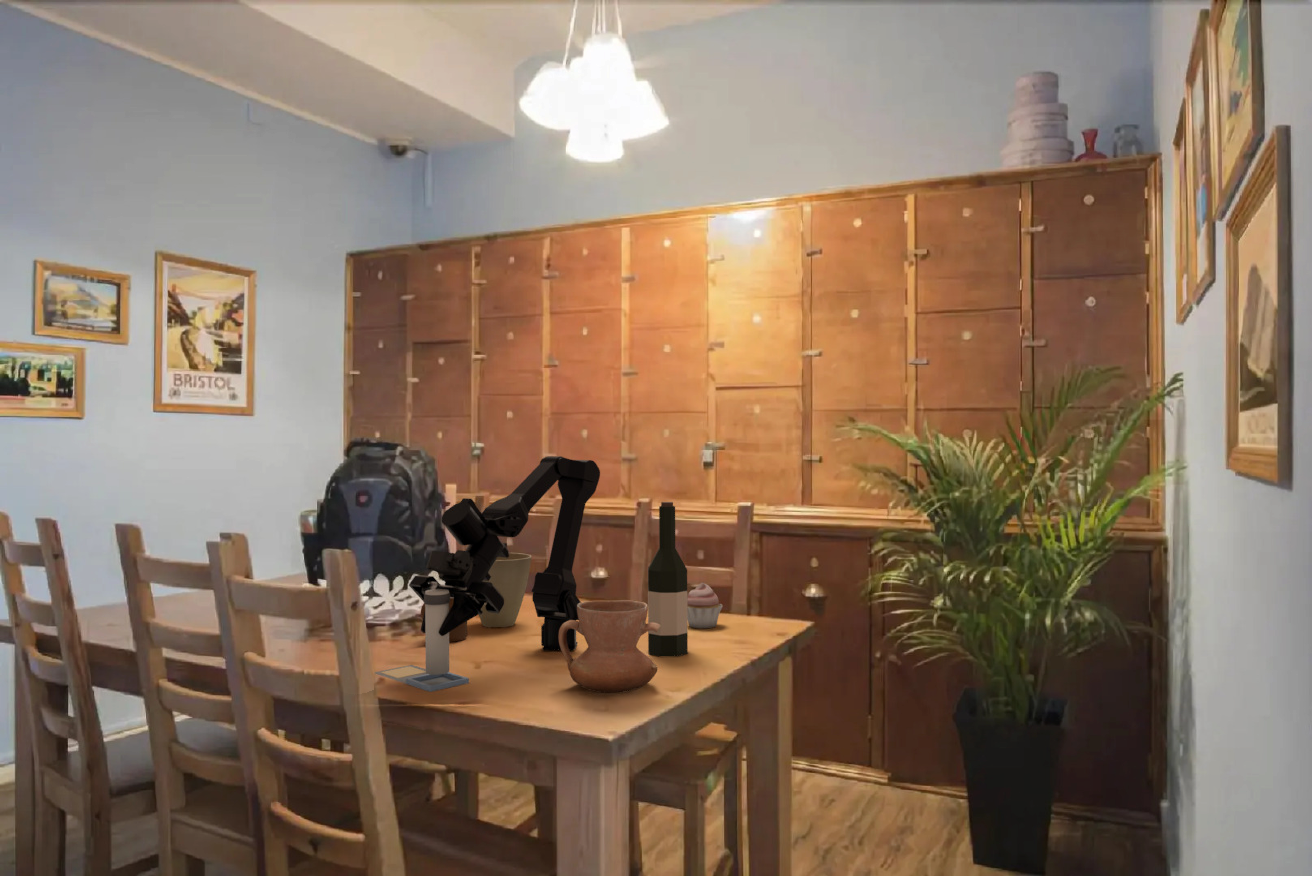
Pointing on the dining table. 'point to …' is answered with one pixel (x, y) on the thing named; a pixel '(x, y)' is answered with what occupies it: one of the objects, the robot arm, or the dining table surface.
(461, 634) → the mug
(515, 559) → the plant pot
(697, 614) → the cupcake
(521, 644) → the dining table surface
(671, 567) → the wine bottle
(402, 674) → the grey rectangular board
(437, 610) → the white grey banded cylinder
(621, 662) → the ceramic jug
